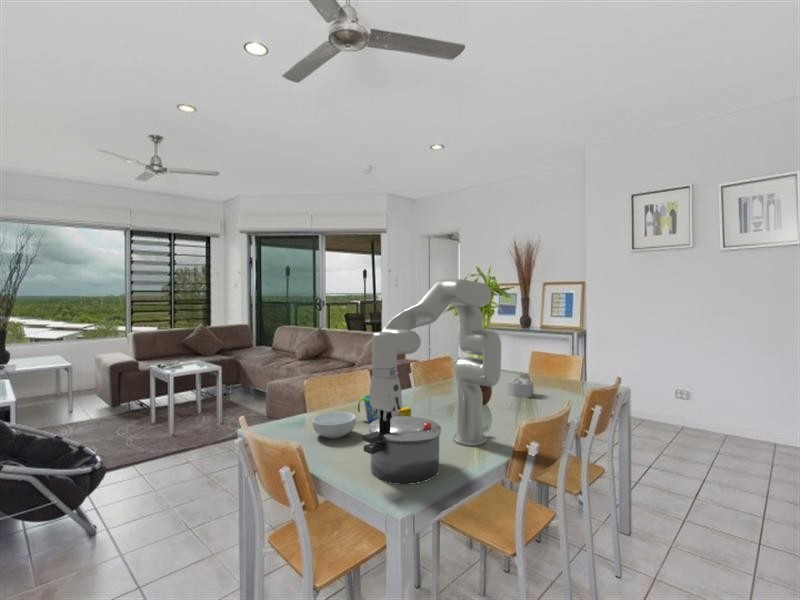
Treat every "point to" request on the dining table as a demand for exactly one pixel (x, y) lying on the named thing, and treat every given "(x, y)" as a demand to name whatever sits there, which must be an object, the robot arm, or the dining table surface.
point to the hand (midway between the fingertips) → (384, 431)
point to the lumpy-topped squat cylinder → (520, 387)
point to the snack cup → (368, 409)
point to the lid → (404, 430)
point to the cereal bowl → (334, 424)
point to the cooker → (404, 460)
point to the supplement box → (404, 411)
